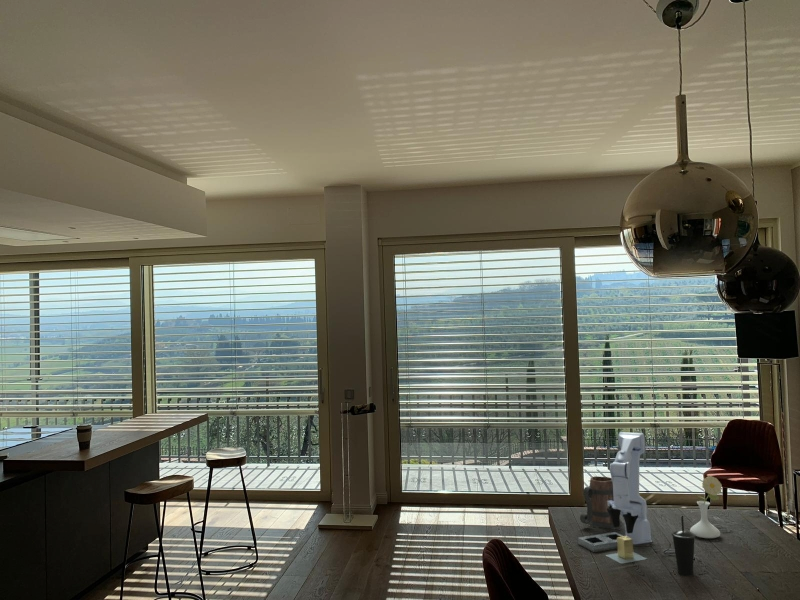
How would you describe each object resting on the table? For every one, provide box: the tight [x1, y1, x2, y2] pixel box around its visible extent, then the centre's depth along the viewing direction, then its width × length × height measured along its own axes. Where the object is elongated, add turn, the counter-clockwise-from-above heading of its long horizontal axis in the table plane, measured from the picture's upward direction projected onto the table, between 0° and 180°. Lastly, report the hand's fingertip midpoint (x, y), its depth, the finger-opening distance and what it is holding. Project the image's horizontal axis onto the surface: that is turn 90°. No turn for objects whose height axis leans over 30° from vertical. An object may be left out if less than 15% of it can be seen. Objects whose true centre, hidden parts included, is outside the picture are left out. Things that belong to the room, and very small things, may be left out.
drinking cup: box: [671, 515, 696, 577], centre depth 207 cm, size 8×8×20 cm
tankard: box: [579, 475, 625, 530], centre depth 262 cm, size 24×17×20 cm
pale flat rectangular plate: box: [605, 551, 648, 565], centre depth 222 cm, size 12×9×1 cm
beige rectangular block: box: [616, 535, 634, 559], centre depth 222 cm, size 4×4×7 cm
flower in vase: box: [689, 475, 723, 539], centre depth 244 cm, size 13×11×25 cm
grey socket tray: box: [577, 531, 624, 553], centre depth 235 cm, size 18×10×3 cm, turn 108°
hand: (623, 529), depth 224 cm, fingers open, 7 cm apart
